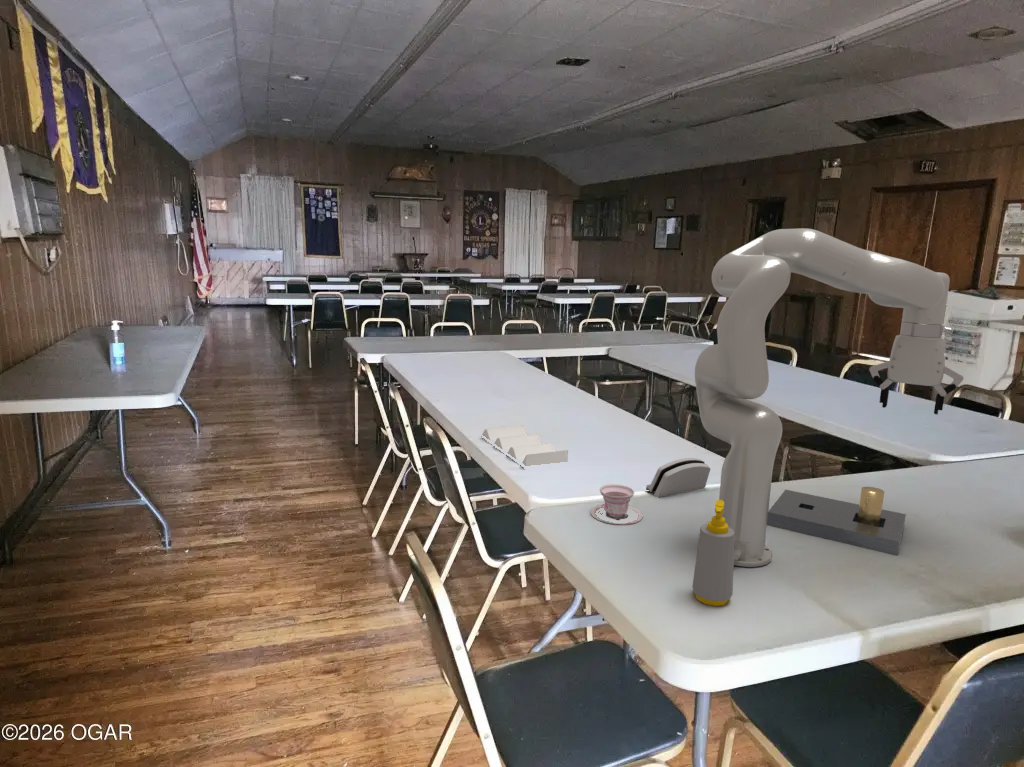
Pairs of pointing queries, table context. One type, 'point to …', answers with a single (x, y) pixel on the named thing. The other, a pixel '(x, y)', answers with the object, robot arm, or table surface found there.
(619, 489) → the teacup
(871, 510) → the tan cylinder
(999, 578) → the table surface
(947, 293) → the robot arm
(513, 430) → the white zigzag rack
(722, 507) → the soap bottle
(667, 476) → the napkin holder
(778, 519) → the plate
